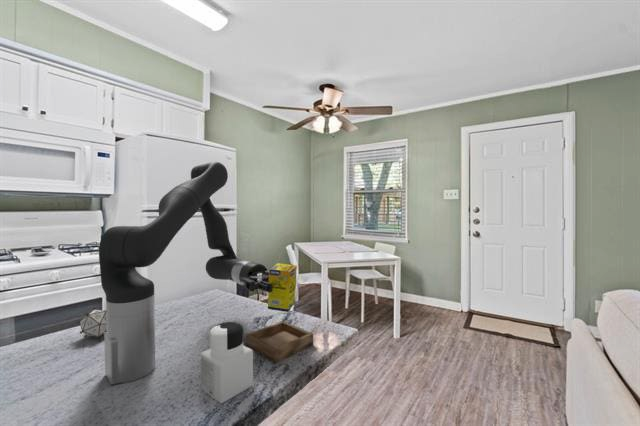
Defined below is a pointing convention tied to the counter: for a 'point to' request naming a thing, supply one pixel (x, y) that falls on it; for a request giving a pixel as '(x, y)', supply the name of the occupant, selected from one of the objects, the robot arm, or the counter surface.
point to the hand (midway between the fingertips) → (283, 285)
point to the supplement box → (282, 287)
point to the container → (226, 363)
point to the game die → (94, 323)
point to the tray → (278, 341)
